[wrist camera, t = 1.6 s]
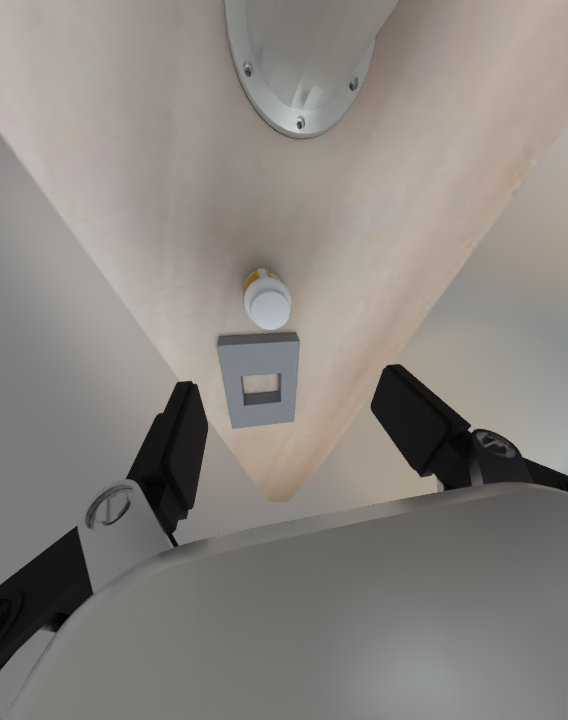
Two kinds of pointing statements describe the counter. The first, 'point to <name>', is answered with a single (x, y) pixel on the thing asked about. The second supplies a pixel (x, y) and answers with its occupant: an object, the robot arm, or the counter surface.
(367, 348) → the counter surface
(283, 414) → the socket block
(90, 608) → the robot arm
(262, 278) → the supplement bottle
